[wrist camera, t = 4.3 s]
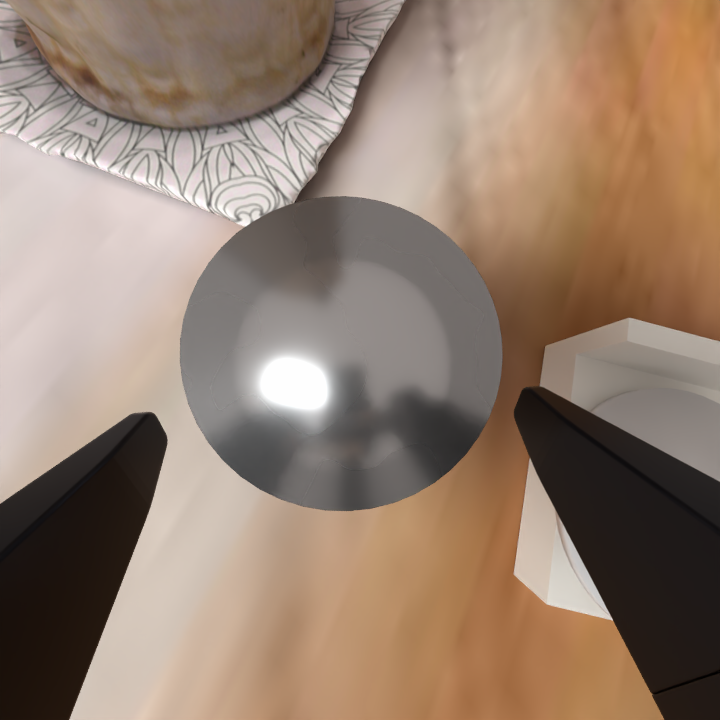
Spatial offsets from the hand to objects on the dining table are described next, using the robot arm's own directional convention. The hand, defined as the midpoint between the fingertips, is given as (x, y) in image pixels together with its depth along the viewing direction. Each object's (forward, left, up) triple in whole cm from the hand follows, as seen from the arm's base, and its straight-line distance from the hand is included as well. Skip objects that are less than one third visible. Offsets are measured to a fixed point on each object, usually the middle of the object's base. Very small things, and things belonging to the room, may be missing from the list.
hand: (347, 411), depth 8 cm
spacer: (+1, 0, -9) cm, 9 cm away
